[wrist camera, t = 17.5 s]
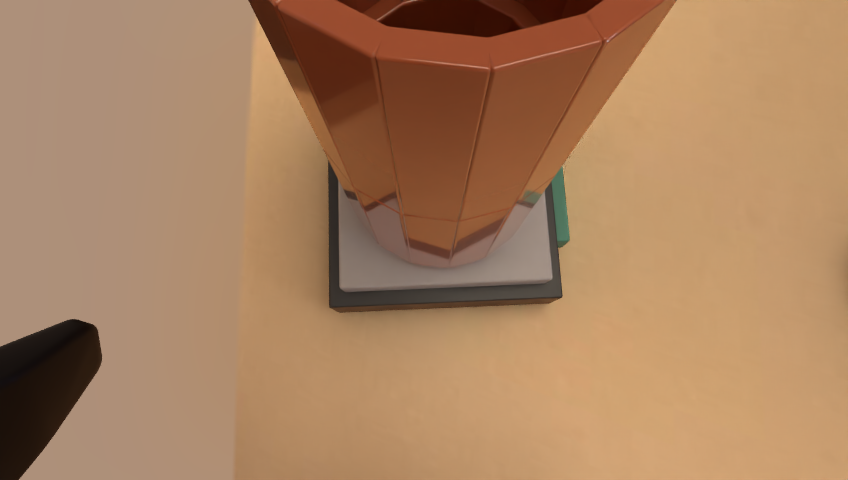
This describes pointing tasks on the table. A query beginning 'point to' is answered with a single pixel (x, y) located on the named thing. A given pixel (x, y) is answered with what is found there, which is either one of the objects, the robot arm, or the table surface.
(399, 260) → the scale
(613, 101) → the table surface
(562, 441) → the table surface
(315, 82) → the terracotta tube
